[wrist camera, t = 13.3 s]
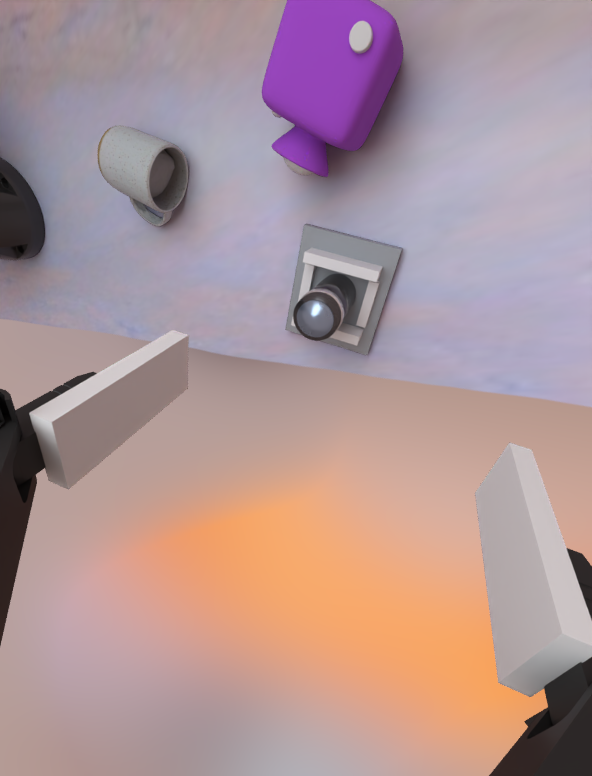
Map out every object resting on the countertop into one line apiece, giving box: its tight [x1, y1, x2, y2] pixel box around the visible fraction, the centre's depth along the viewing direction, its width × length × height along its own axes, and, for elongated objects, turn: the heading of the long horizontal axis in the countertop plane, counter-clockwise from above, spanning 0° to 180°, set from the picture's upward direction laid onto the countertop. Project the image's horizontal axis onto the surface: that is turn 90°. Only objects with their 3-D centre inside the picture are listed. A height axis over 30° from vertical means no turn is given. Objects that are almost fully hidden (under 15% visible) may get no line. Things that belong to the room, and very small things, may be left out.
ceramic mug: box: [98, 126, 188, 226], centre depth 45 cm, size 11×8×8 cm
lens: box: [293, 274, 356, 341], centre depth 42 cm, size 5×5×10 cm
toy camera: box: [262, 0, 403, 177], centre depth 34 cm, size 11×14×10 cm
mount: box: [285, 224, 402, 355], centre depth 46 cm, size 12×14×4 cm
